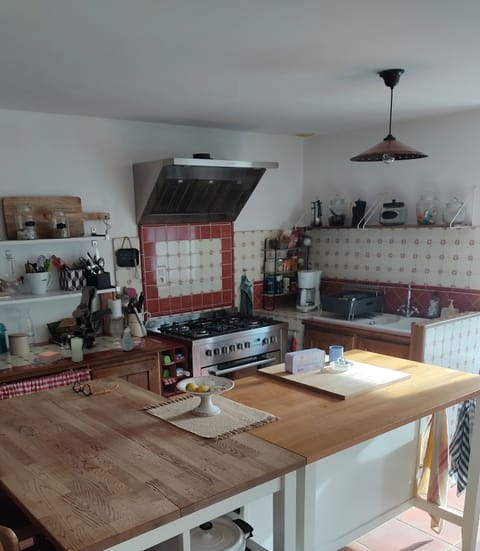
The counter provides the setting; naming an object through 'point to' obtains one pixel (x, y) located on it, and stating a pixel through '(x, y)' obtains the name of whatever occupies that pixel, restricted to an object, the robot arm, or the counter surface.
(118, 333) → the coffee box
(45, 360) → the tower base
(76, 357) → the column brick
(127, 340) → the toy figure
